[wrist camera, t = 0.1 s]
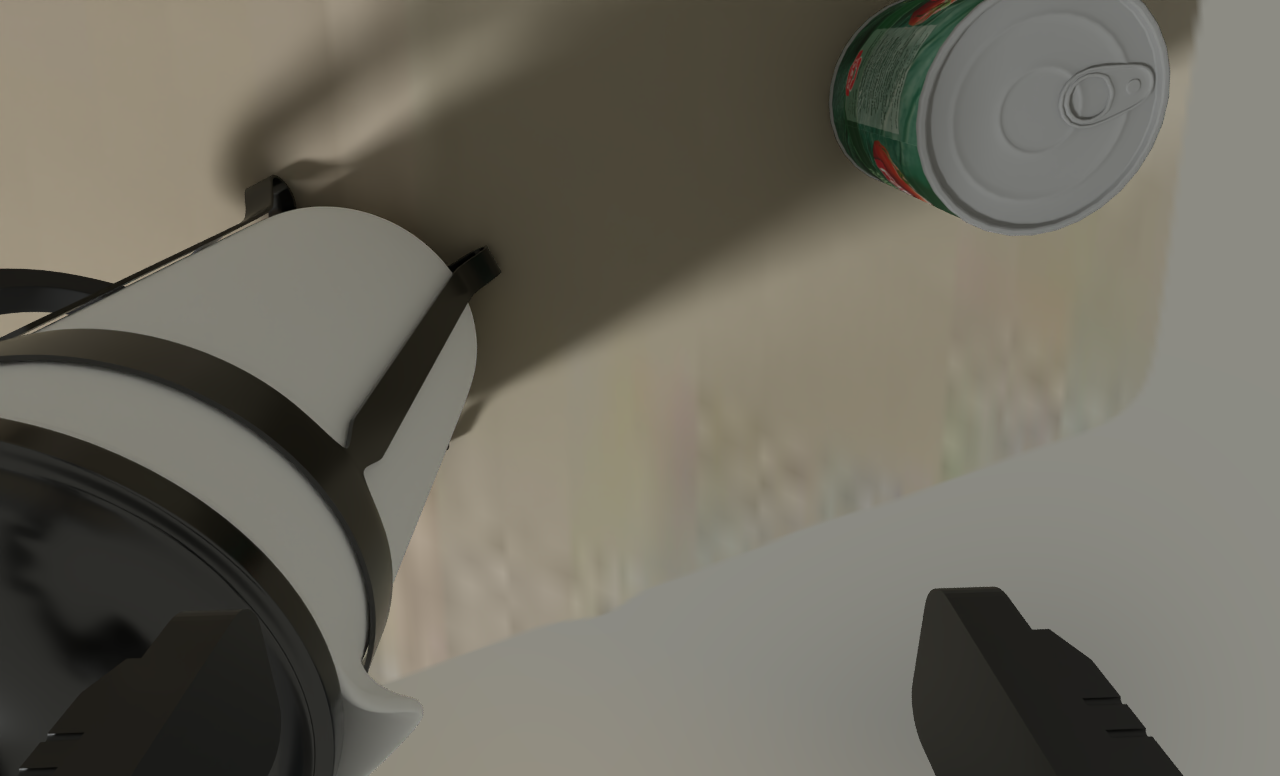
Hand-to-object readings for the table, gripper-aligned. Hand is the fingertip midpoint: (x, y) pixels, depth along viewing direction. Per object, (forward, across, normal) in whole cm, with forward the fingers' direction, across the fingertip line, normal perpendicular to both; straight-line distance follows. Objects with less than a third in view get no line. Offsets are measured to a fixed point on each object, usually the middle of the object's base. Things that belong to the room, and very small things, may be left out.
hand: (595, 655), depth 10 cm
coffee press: (+29, +13, +5) cm, 33 cm away
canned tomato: (+30, -14, -5) cm, 33 cm away
